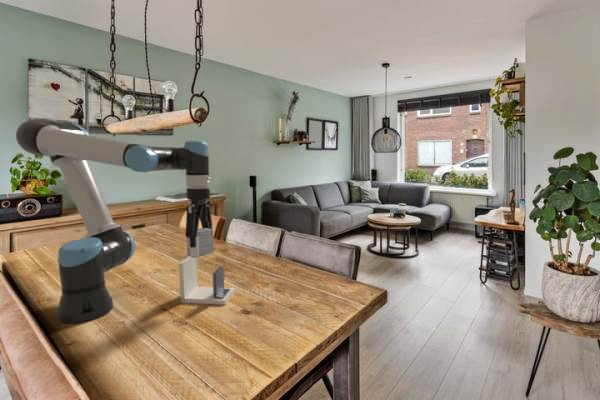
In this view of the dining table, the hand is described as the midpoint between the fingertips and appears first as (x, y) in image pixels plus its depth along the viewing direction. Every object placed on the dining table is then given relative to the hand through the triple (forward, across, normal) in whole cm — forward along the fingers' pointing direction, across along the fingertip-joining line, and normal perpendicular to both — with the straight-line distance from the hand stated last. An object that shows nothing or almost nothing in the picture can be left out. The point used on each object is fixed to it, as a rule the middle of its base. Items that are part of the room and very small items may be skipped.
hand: (200, 251), depth 112 cm
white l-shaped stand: (+17, +2, -2) cm, 17 cm away
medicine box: (+1, 0, 0) cm, 1 cm away
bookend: (+16, +1, -7) cm, 17 cm away
